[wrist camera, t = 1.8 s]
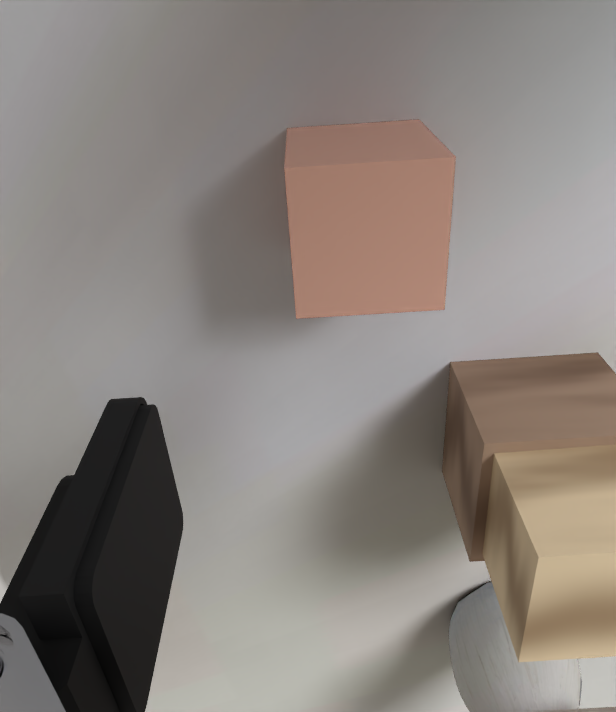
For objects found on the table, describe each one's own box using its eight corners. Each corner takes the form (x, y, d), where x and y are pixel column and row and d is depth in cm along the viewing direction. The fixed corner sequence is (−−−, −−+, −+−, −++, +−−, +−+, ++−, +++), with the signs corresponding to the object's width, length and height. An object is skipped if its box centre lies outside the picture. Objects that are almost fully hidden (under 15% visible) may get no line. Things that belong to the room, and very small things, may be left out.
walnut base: (449, 361, 28) (484, 443, 23) (597, 351, 28) (664, 432, 23) (441, 469, 32) (469, 561, 26) (571, 461, 31) (624, 552, 26)
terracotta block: (286, 127, 22) (284, 168, 17) (418, 119, 22) (455, 156, 17) (296, 251, 25) (296, 318, 20) (413, 244, 25) (444, 309, 20)
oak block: (494, 453, 23) (538, 557, 19) (647, 442, 23) (727, 544, 19) (482, 553, 26) (518, 662, 22) (617, 544, 26) (679, 652, 22)
